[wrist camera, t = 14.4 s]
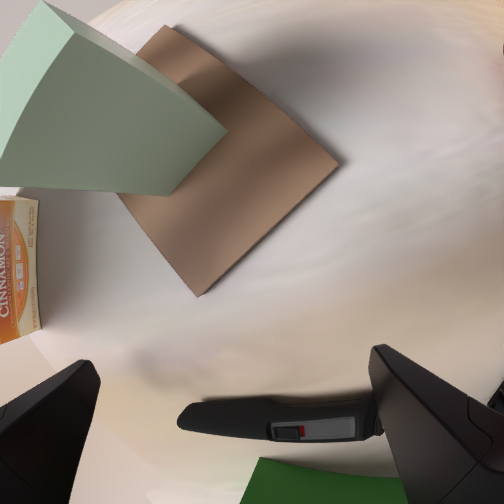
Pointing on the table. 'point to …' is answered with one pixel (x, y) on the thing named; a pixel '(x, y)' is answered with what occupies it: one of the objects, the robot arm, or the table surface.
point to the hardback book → (318, 487)
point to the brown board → (225, 169)
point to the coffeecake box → (18, 267)
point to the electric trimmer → (285, 420)
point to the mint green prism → (93, 113)
